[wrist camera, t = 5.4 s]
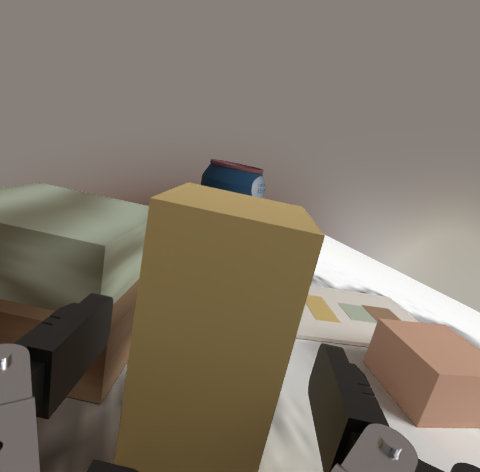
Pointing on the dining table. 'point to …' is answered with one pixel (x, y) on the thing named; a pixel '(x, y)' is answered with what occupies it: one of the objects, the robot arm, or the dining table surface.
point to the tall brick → (213, 328)
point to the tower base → (70, 267)
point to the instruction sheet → (345, 316)
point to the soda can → (234, 178)
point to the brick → (427, 372)
